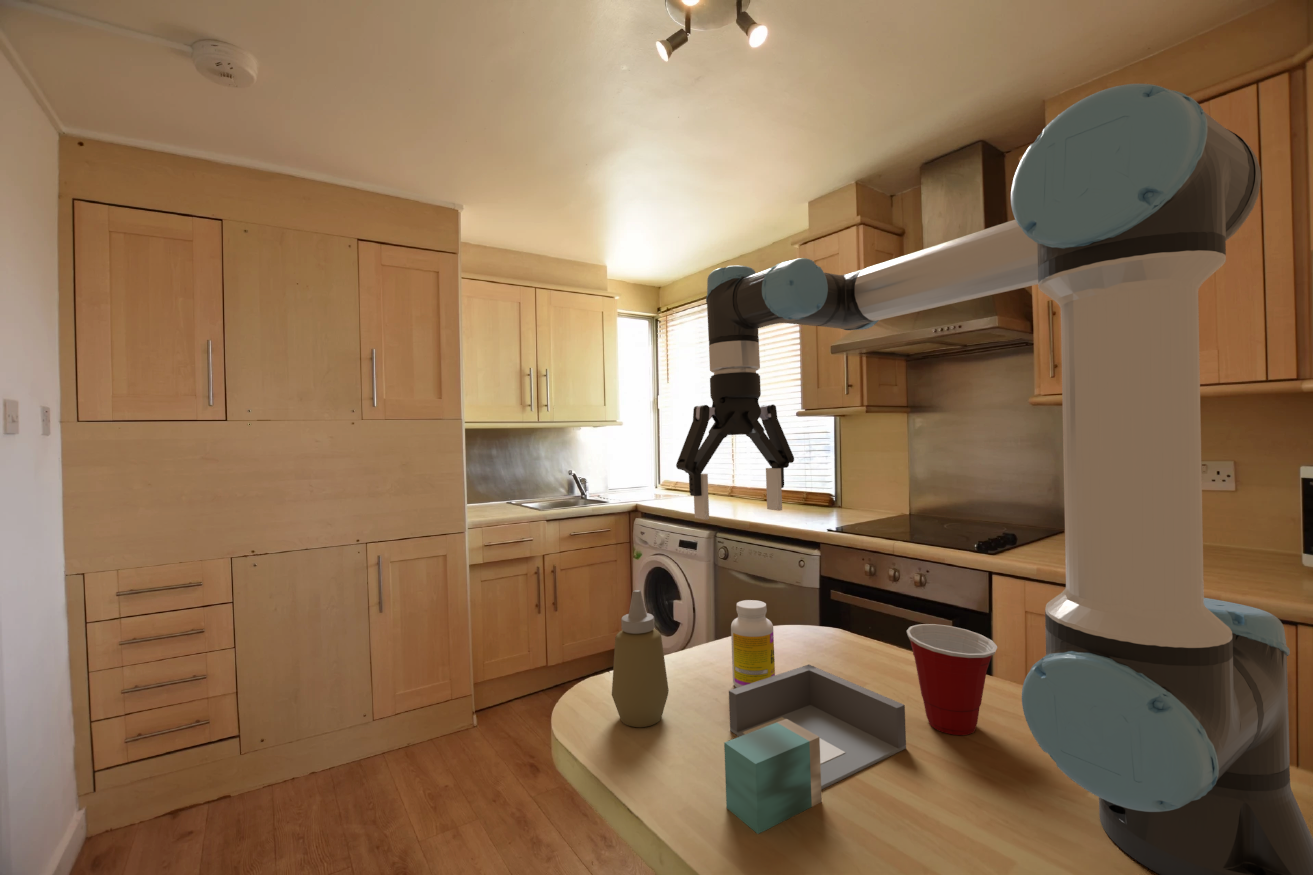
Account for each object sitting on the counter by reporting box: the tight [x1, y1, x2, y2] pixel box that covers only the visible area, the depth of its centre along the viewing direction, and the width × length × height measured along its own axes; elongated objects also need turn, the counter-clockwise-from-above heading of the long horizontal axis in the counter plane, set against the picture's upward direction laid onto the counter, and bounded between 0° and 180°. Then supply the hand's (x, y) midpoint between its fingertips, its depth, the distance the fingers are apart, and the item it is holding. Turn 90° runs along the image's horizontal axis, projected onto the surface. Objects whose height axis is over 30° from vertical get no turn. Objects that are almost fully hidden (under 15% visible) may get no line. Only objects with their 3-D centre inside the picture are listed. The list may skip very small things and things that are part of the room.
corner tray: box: [728, 664, 907, 791], centre depth 76 cm, size 16×15×5 cm
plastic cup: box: [906, 623, 998, 736], centre depth 78 cm, size 11×11×12 cm
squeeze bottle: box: [611, 589, 669, 728], centre depth 83 cm, size 8×8×18 cm
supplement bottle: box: [730, 599, 776, 688], centre depth 93 cm, size 7×7×13 cm
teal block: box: [723, 719, 823, 835], centre depth 63 cm, size 9×5×7 cm, turn 122°
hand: (739, 514), depth 89 cm, fingers open, 13 cm apart
